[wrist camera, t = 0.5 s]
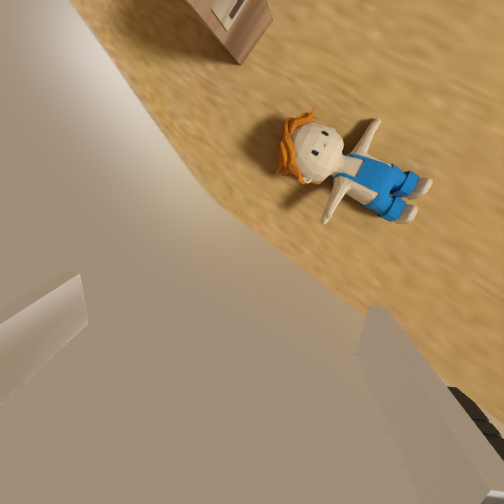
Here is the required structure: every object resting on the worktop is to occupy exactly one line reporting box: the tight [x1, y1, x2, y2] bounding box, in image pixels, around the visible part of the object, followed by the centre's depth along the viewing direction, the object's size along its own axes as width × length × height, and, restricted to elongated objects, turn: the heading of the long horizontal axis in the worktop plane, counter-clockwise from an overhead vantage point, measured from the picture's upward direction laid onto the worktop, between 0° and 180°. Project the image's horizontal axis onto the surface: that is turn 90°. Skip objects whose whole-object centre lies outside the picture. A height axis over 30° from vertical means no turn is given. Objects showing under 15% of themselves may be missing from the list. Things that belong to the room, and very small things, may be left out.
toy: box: [274, 105, 433, 225], centre depth 26 cm, size 12×6×15 cm
